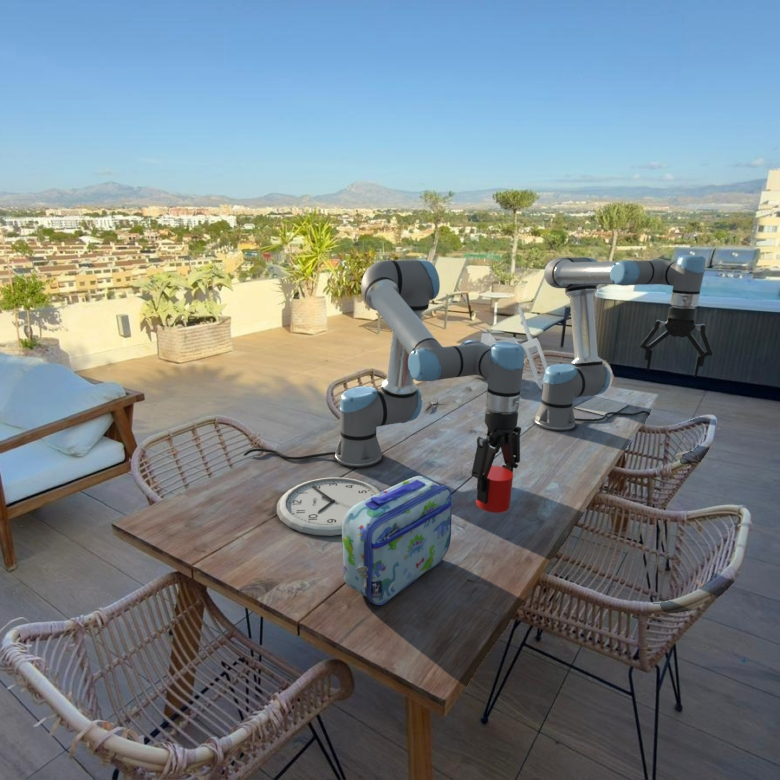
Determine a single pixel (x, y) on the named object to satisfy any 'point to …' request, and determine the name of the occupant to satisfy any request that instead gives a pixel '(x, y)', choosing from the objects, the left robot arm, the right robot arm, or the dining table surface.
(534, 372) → the white plastic object
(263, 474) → the dining table surface
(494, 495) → the canister
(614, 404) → the invitation card
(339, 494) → the wall clock
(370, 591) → the lunch box
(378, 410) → the left robot arm
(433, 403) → the fork
